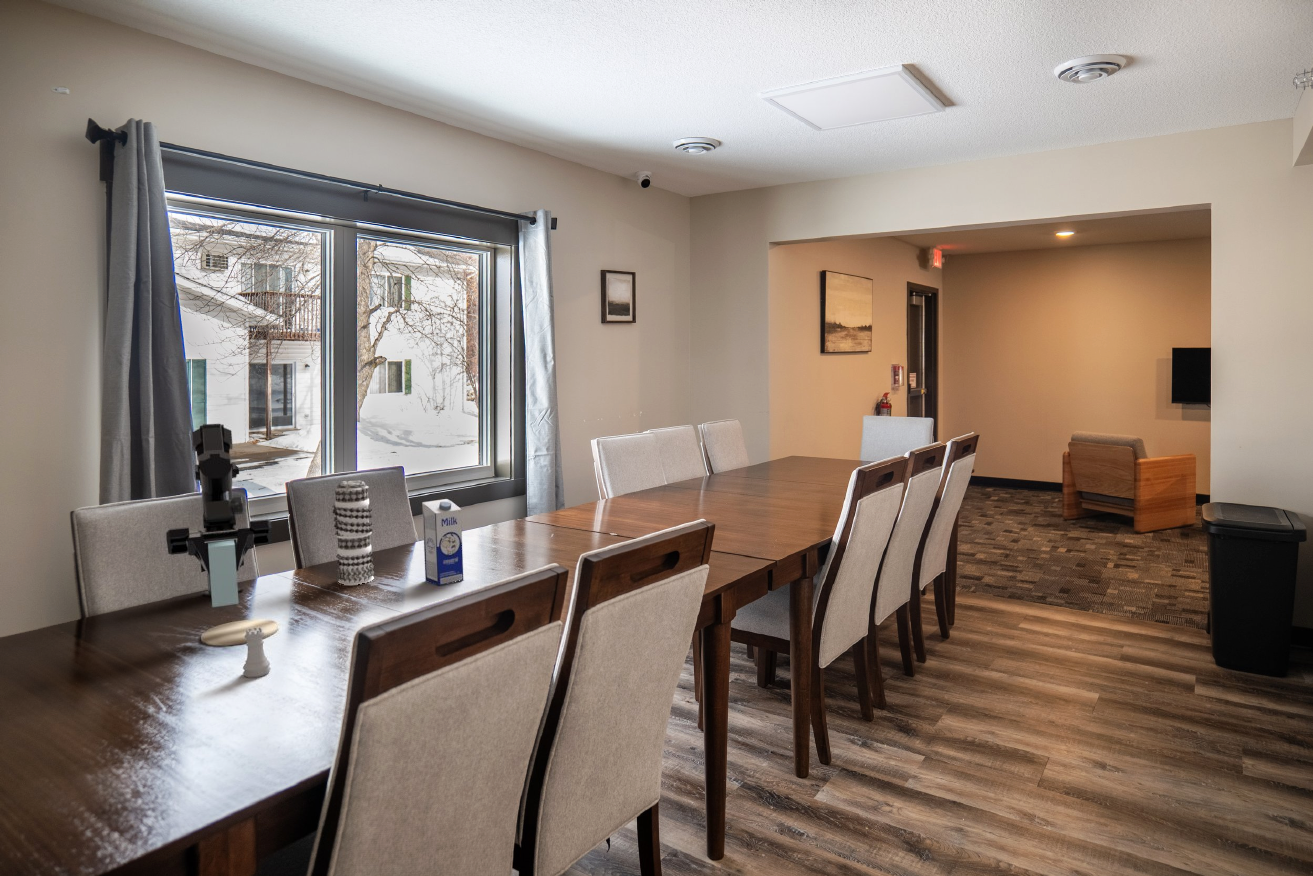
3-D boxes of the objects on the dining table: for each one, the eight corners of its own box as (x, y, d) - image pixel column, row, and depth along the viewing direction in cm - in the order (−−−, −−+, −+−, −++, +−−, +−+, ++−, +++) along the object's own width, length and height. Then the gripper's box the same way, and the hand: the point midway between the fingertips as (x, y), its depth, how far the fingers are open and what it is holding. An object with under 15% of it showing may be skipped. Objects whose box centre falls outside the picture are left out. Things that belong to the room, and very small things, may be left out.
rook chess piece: (249, 669, 146) (246, 626, 145) (274, 668, 146) (272, 625, 146) (238, 679, 142) (235, 634, 141) (265, 678, 142) (262, 633, 141)
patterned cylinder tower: (327, 583, 200) (322, 483, 198) (354, 574, 209) (350, 478, 206) (357, 587, 197) (352, 485, 194) (383, 577, 205) (378, 479, 203)
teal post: (211, 601, 164) (207, 542, 162) (237, 597, 166) (233, 540, 165) (212, 607, 160) (208, 547, 159) (238, 603, 162) (234, 544, 161)
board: (186, 638, 162) (185, 635, 162) (250, 618, 174) (250, 615, 174) (230, 650, 155) (230, 647, 155) (293, 628, 168) (293, 625, 168)
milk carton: (450, 575, 207) (447, 497, 205) (464, 580, 202) (461, 501, 200) (424, 581, 202) (421, 501, 200) (438, 586, 197) (435, 505, 195)
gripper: (163, 489, 159) (165, 556, 151) (268, 480, 168) (275, 543, 160) (167, 521, 167) (169, 586, 159) (267, 511, 176) (274, 573, 168)
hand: (223, 571), depth 161 cm, fingers closed on teal post, 5 cm apart
